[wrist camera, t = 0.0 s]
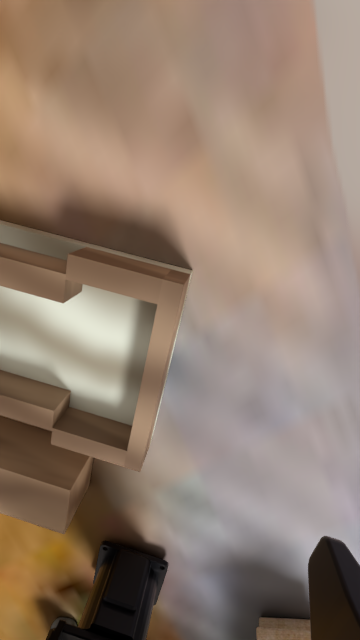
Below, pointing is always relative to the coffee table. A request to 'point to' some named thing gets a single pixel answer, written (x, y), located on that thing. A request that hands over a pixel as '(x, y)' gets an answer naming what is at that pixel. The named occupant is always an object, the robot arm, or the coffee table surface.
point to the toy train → (283, 629)
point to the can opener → (68, 620)
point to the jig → (86, 341)
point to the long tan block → (40, 476)
